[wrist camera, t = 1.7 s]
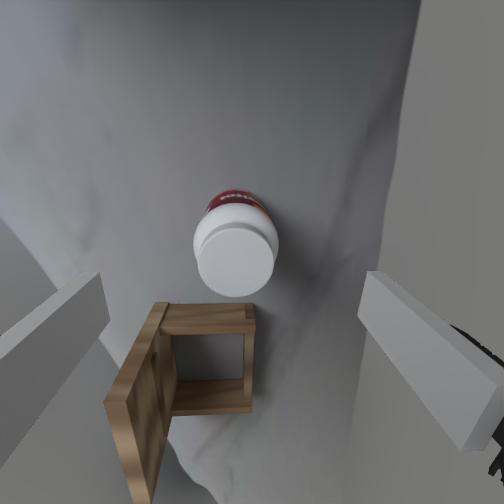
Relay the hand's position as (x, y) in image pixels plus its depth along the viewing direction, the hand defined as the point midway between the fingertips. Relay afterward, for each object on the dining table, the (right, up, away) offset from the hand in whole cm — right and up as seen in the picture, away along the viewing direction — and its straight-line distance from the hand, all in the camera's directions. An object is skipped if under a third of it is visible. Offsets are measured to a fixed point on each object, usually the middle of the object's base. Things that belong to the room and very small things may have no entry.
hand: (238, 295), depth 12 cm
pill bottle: (-1, +6, +13) cm, 14 cm away
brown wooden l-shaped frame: (-5, -10, +19) cm, 22 cm away
